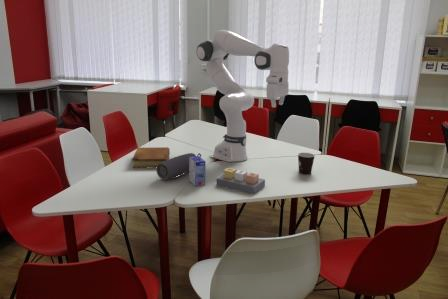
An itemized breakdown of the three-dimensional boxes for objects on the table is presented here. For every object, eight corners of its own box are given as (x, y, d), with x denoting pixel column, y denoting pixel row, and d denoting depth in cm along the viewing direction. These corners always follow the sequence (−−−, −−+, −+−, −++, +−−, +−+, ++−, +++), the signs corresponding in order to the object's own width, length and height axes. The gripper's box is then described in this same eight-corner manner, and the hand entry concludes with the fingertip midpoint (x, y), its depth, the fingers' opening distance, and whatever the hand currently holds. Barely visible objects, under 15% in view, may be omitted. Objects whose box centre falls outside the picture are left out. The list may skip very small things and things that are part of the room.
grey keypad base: (216, 185, 184) (216, 178, 183) (228, 178, 194) (229, 171, 193) (253, 194, 174) (254, 187, 173) (264, 186, 184) (265, 179, 183)
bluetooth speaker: (185, 168, 208) (185, 150, 205) (198, 171, 203) (199, 153, 200) (155, 179, 190) (155, 160, 188) (169, 183, 185) (169, 164, 182)
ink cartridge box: (205, 185, 184) (206, 156, 180) (194, 186, 182) (195, 157, 178) (199, 178, 193) (199, 151, 189) (188, 179, 191) (188, 152, 187)
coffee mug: (313, 176, 200) (314, 157, 198) (296, 174, 202) (298, 156, 199) (312, 169, 211) (314, 151, 208) (297, 167, 213) (298, 150, 210)
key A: (223, 178, 186) (224, 169, 184) (228, 176, 189) (228, 167, 188) (231, 180, 184) (231, 171, 182) (236, 178, 187) (236, 169, 186)
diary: (167, 169, 208) (167, 158, 206) (132, 169, 206) (132, 159, 204) (169, 156, 230) (169, 147, 228) (138, 156, 228) (137, 147, 226)
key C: (245, 183, 180) (246, 174, 179) (249, 181, 184) (250, 172, 182) (254, 185, 178) (254, 176, 176) (258, 183, 181) (258, 173, 180)
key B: (234, 181, 183) (234, 172, 182) (239, 178, 186) (239, 169, 185) (242, 183, 181) (243, 173, 179) (247, 180, 184) (247, 171, 183)
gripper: (280, 76, 197) (279, 102, 201) (264, 79, 180) (263, 108, 184) (292, 76, 194) (290, 103, 198) (277, 79, 177) (275, 109, 181)
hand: (277, 105), depth 191 cm, fingers open, 8 cm apart
